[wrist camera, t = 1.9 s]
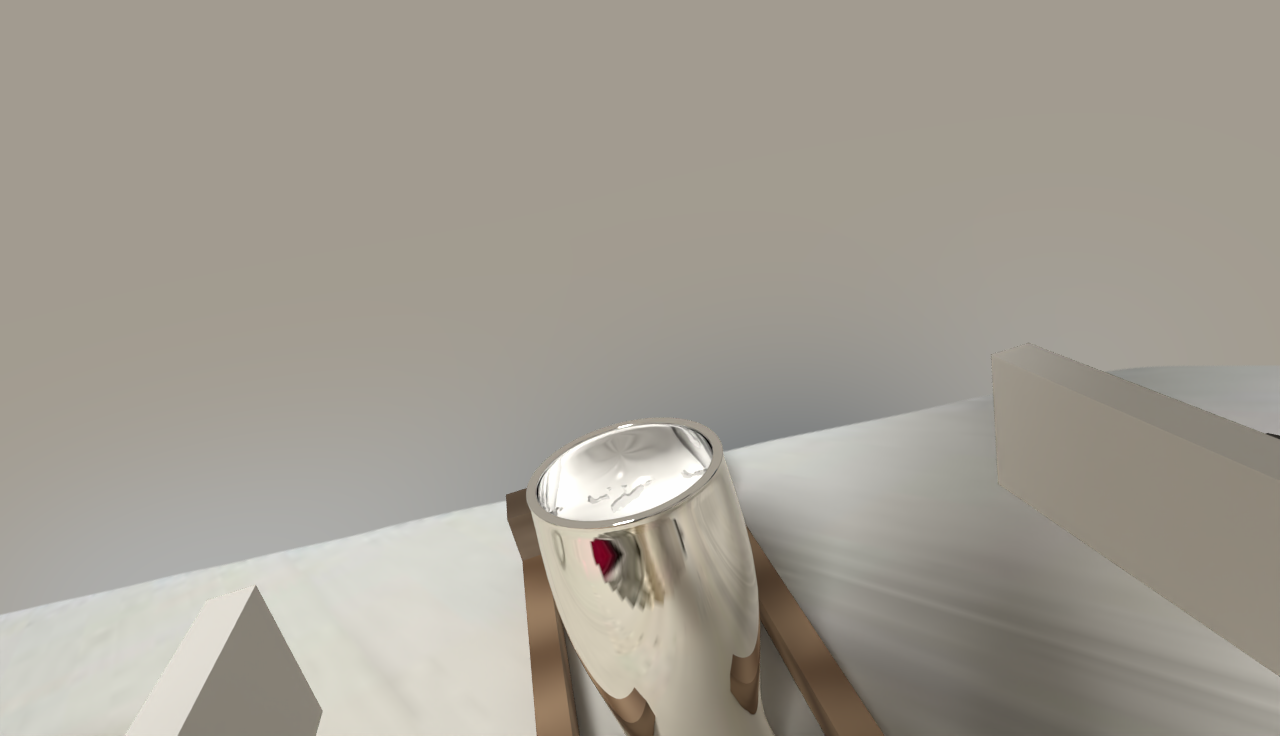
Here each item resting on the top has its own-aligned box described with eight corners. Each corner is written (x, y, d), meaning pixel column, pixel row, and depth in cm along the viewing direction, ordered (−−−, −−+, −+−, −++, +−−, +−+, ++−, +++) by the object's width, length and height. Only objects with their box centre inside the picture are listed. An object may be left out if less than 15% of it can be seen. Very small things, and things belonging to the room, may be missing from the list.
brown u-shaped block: (925, 829, 24) (912, 726, 23) (569, 971, 23) (525, 873, 21) (716, 497, 47) (701, 432, 45) (529, 559, 45) (506, 494, 44)
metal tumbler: (597, 785, 29) (485, 481, 24) (720, 684, 32) (646, 398, 27) (703, 920, 24) (588, 563, 18) (839, 783, 27) (775, 445, 21)
